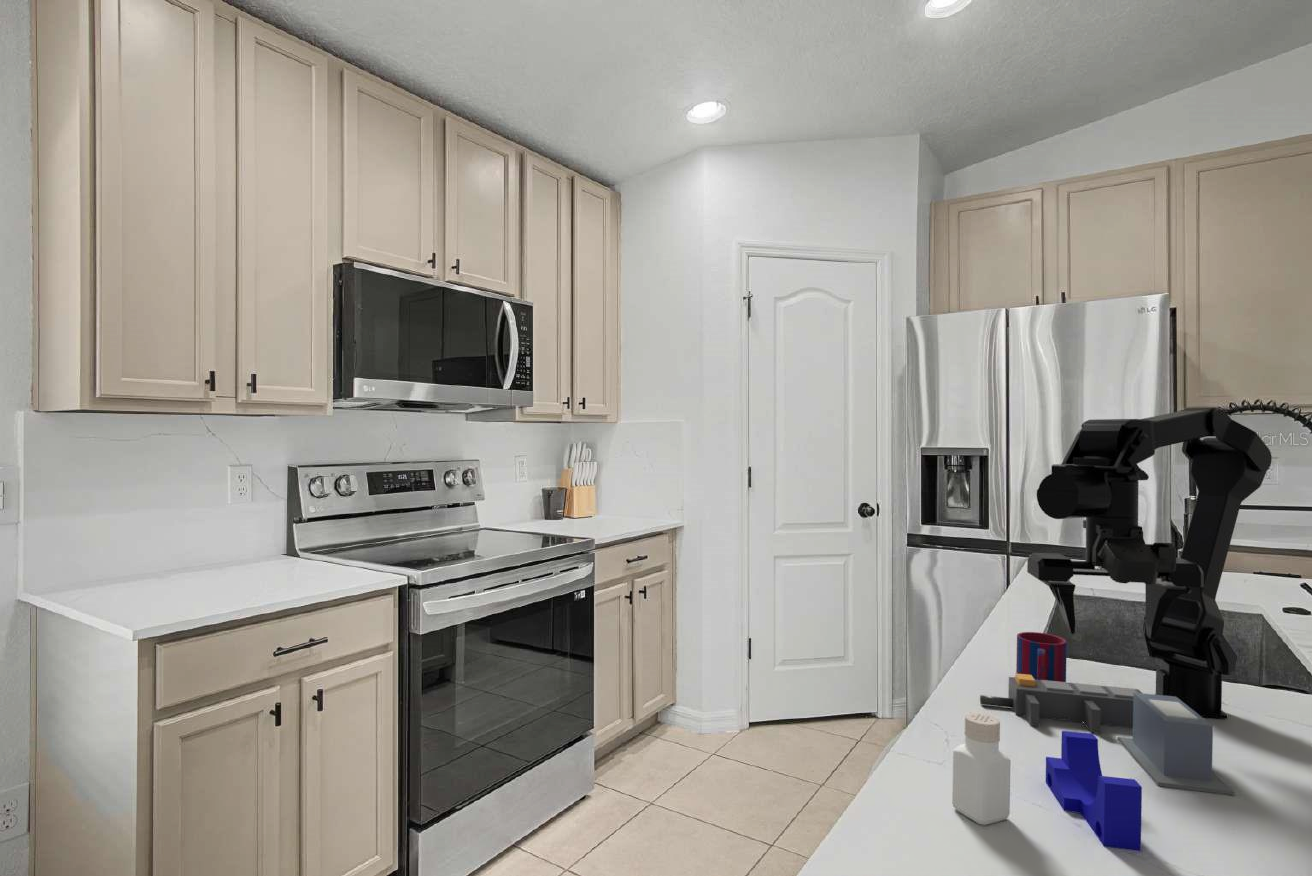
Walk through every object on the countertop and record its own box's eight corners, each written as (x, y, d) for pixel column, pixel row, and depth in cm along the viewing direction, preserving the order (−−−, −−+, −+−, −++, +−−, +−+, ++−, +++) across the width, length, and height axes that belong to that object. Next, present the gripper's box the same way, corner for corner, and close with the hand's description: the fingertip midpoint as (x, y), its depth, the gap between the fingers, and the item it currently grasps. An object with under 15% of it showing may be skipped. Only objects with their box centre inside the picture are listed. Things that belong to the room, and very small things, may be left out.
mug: (1067, 680, 110) (1068, 636, 110) (1061, 700, 102) (1062, 652, 102) (1019, 671, 114) (1020, 629, 114) (1009, 689, 106) (1010, 643, 106)
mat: (1183, 747, 86) (1183, 744, 86) (1234, 795, 75) (1234, 791, 75) (1118, 739, 88) (1118, 736, 88) (1157, 785, 77) (1157, 781, 77)
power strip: (1137, 715, 96) (1138, 683, 96) (1164, 740, 88) (1164, 706, 88) (977, 698, 102) (978, 668, 102) (988, 721, 94) (989, 688, 94)
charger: (1175, 746, 86) (1176, 695, 86) (1211, 781, 77) (1212, 724, 77) (1132, 741, 87) (1133, 691, 87) (1163, 775, 78) (1164, 719, 78)
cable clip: (1045, 784, 77) (1046, 728, 77) (1091, 789, 76) (1092, 733, 76) (1085, 846, 66) (1086, 780, 66) (1140, 853, 65) (1141, 787, 64)
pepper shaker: (982, 828, 68) (984, 728, 68) (949, 808, 71) (951, 713, 71) (1012, 820, 69) (1014, 722, 69) (978, 800, 73) (980, 708, 73)
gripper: (1052, 521, 87) (1052, 649, 87) (1229, 525, 83) (1228, 660, 83) (1026, 511, 98) (1025, 624, 98) (1181, 514, 94) (1180, 633, 94)
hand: (1110, 635), depth 93 cm, fingers open, 9 cm apart
